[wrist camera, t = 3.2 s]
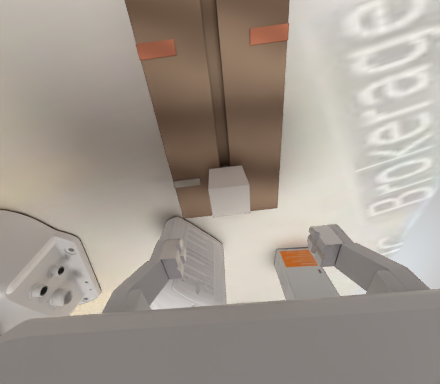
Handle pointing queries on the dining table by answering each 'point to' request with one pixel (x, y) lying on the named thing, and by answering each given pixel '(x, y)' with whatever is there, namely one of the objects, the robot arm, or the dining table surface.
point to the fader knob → (229, 191)
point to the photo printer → (194, 269)
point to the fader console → (216, 90)
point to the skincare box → (302, 275)
